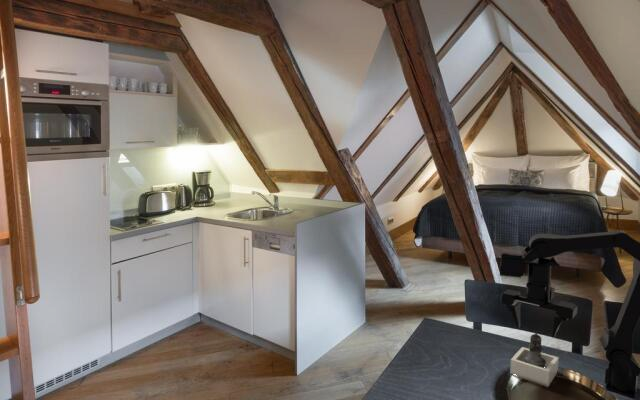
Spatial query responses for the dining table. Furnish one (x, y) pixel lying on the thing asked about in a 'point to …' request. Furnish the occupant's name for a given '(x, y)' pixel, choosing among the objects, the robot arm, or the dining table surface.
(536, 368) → the box
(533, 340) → the dark grey tall piece
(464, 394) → the dining table surface
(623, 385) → the robot arm
